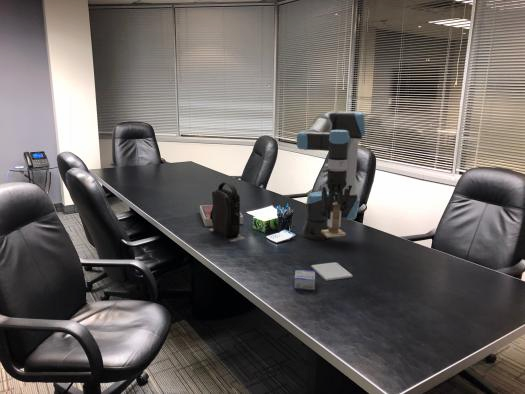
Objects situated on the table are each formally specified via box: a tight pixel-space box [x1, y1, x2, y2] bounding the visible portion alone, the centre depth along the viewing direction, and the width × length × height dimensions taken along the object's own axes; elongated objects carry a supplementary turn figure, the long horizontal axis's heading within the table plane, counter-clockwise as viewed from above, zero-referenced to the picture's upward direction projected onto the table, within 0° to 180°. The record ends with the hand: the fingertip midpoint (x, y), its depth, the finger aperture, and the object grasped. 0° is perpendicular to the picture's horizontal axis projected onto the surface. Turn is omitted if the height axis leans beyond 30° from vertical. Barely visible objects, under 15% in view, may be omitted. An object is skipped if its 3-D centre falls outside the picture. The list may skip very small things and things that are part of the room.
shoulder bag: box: [209, 181, 246, 243], centre depth 216 cm, size 23×9×28 cm, turn 37°
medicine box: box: [293, 269, 316, 291], centre depth 162 cm, size 8×4×9 cm
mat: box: [311, 262, 353, 282], centre depth 174 cm, size 14×12×1 cm
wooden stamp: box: [321, 202, 347, 238], centre depth 169 cm, size 6×8×13 cm
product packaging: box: [199, 204, 244, 227], centre depth 246 cm, size 22×28×5 cm
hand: (333, 225), depth 169 cm, fingers closed on wooden stamp, 3 cm apart
